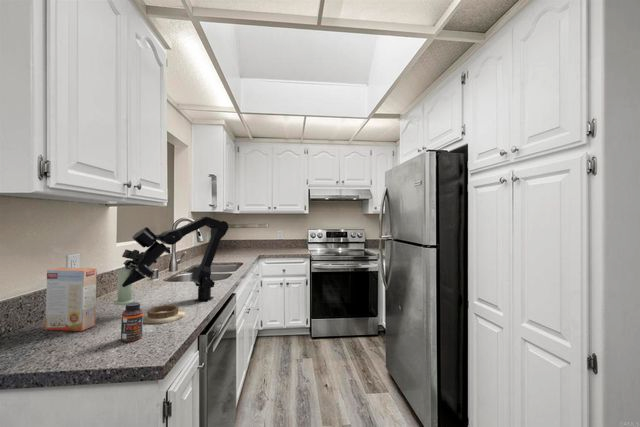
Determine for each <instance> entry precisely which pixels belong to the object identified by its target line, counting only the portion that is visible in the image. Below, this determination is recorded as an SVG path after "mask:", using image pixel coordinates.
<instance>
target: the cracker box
mask: <svg viewBox="0 0 640 427" xmlns="http://www.w3.org/2000/svg"><path fill="white" fill-rule="evenodd" d="M97 273H98V272H97V268H96V267H95V268H91V267H90V268H89V267H58V268H53V269H51V268H50V269H47V270H46V296H45V297H46V298H45V324H44V328H45V329H44V330H46V331H48V330H49V331H68V332H70V331H71V332H82V331H83V332H84V331H85V330H88V329H90V328H93V327H96V313H97V312H96V309H97V308H96V305H97Z"/></svg>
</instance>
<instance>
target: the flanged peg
mask: <svg viewBox="0 0 640 427" xmlns="http://www.w3.org/2000/svg"><path fill="white" fill-rule="evenodd" d="M130 274H131V269H125V268H123V269H118V271H117V299H115V300H114V301H113V305H114V306H126V304H128V303H133V302H136V298H134V297H132V296H133V294H132V291H133V288H132V286H133V283H132V284H130V285H128V286H126V287H123V286H122V284H123V283H124V282H125V280H126V279H127V278H128V276H129V275H130Z"/></svg>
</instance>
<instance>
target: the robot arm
mask: <svg viewBox="0 0 640 427" xmlns="http://www.w3.org/2000/svg"><path fill="white" fill-rule="evenodd" d="M203 227H207V228H210V238H209V241H208V244H207V246H206V249H205V252H204V254H203V257H202V260H201V262H200V264H199V266H194V268H193V271H192V273H191V279H192V282H193V283H194V285H195V287H198V288H197V289H198V290H197V298H195V299H194V301H197V302H209V301H211V300H212V298H213V299H214V296H212V288H214V287H215V281H213V280H212V278H211V276H212V268H211V267H212V263H213V261H214V259H215V255H216V254H217V253H216V252H217V251H218V247H219V245H220V243H221V239H223V237H224V236H226V234H227V233H228V230H229V227H230V226H229V223H228V222H227V221H224V220H219V219H215V218H211V217H210V216H201V217H200V218H198V219H195V220H194V221H191V222H188V223H187V224H184V225H183V226H181V227H177V228H173V229H168V230H165V231H162V232H161V233H160V234H155V233H154V232H153V231H151V229H150V228H149V227H147V226H146V227H144V228H142V229H140V230H139V231H137V232H136V233H135V234H133V236H132V240H134V241H135V242H136V243H137V244H138V245H139V246H140V247H142V248H147V249H146V250H145V251H141V252H140V250H138V249H133V250H129V249H125V250H124V252H123V253H122V255H121V257H122V258H125V259H126V260H125V261H124V262H123V265H124V269H131V274H130V275H129V276H128V278H127V279H126V280H125V282H124V283H123V284H122V286H123V287H126V286H128V285H130V284H132V285H133V284H134V283H135V282H139V281H140V280H144V279H146V278H148V279H150V278H152V276H153V275H154V270H152V269H151V268H150V267H151V266H153V264H156V263H158V259H159V258H160V257H161V256H162V255H163V254H164V253H166V254H168V255H169V254H171V245H172V246H173V245H175V244H177V243H178V242H180V241H181V240H182V239H183V238H184V237H185V236H187V235H189V234H191V233H193V232H195V231H198V230H199V229H201V228H203ZM160 242H161V243H160ZM166 245H167V246H166ZM168 245H169V246H168ZM145 276H146V277H145ZM210 299H211V300H210ZM208 300H209V301H208Z"/></svg>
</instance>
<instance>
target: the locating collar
mask: <svg viewBox="0 0 640 427" xmlns="http://www.w3.org/2000/svg"><path fill="white" fill-rule="evenodd" d="M185 316H186V310H185V309H182V308H179V306H178V305H174V304H173V305H171V304H167V305H165V304H164V305H159V306H158V305H157V306H154V307H151V308H149V309H148V310H147V312H145V313H144V312H143V324H147V325H159V324H161V325H162V324H167V323H172V322H175V321H176V322H177V321H178V320H180V319H183V318H184V317H185Z"/></svg>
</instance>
